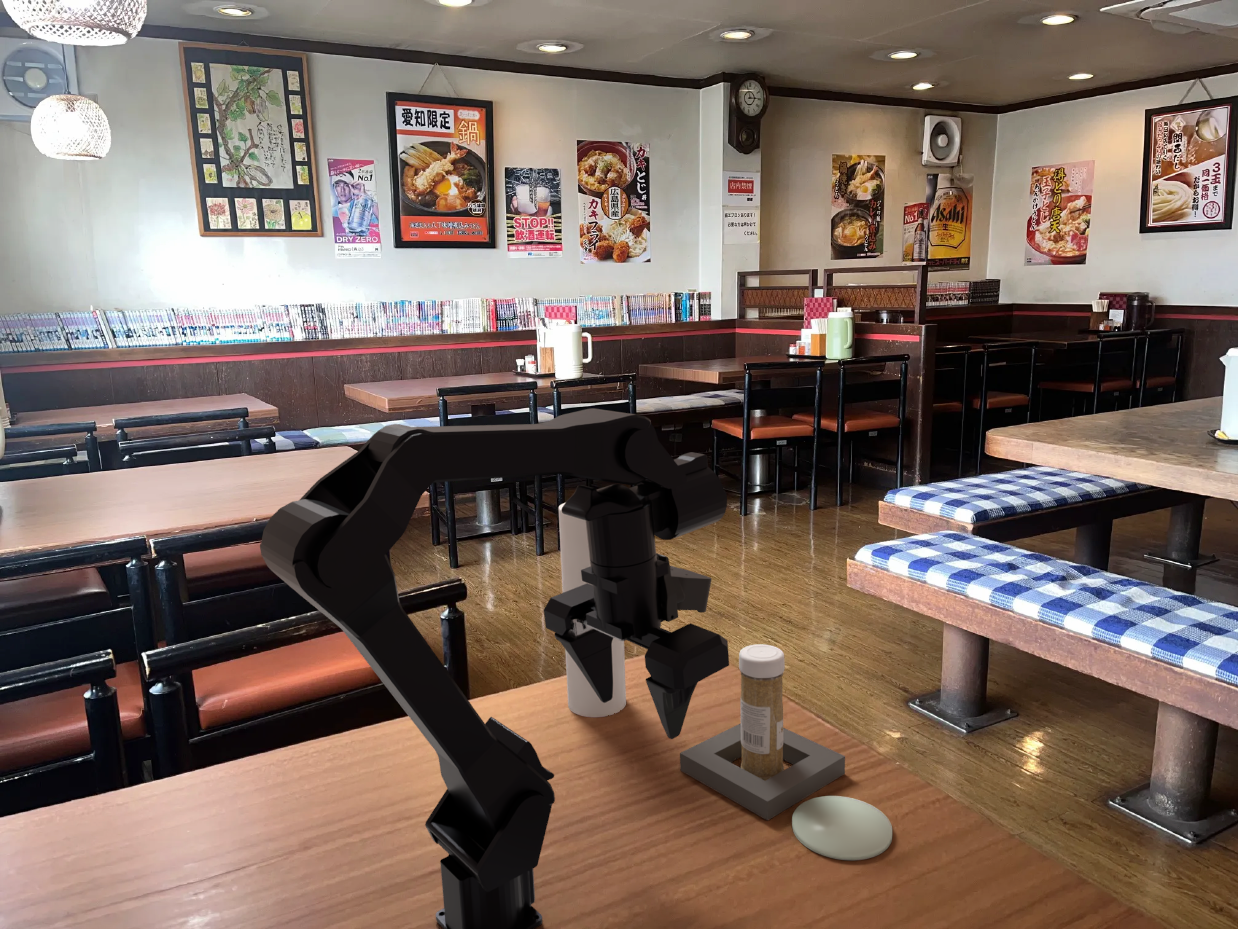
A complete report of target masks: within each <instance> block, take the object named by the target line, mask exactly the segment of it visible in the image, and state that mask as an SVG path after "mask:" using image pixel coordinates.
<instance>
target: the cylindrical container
mask: <svg viewBox="0 0 1238 929" xmlns="http://www.w3.org/2000/svg"><path fill="white" fill-rule="evenodd" d="M565 503H566V502H564V503H561V504H560V505H559V506H558V523H559V539H560V540H559V541H560V542H559V543H560V564H561V565H560V567H561V583H562V584H561V585H562V586H561V587H562V589H561V590H562V593H564V592H566V591H569V590H571V589H574V588H576V587H579V586H582V585H584V584H587V583H586V582H584V581H582V575H581V570H582V569H585V568H587V567H590V566H591V565H590V556H589V547H588V538H587V529H586V521H585V520H582V519H579V518H575V517H572V516H569V515H565V514H563V513H562V507H563V506H564V504H565ZM588 584H589V583H588ZM590 585H592V584H590ZM564 650H565V668H566V670H565V671H566V685H567V686H566V688H567V690H566V691H567V705H568V707H567V708H568V709H569V710H570V711H571V712H572V713H573V714H576V715H578V716H582V717H587V718H603V717H608V715H609V716H612V715H615V714H617V713H619V712H620V710H621V711H622V710H623V709H624V708H625V707H626V704H627V693H626V688H627V687H626V665H625V664H626V663H625V660H626V658H625V641H620V640H618V639H616V638H613V640H612V666H613V697H612V699H611V700H610V701H608V702H606V703H603V702H602V701H601V700H600V699H599V697H598V696H597V694H596V693H595V691H594V690H593V688H592V687H591V685H590V684H589V682H588V681H587V679H586V678H585V676H584V675H583V673H582V672H581V670H580V669H579V667H578V666H577V664H576V663H575V662H574V660H573V659H572V657H571V656H570V655H569V653H568V652H567V651H566V649H565V648H564ZM614 713H615V714H614Z"/></svg>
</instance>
